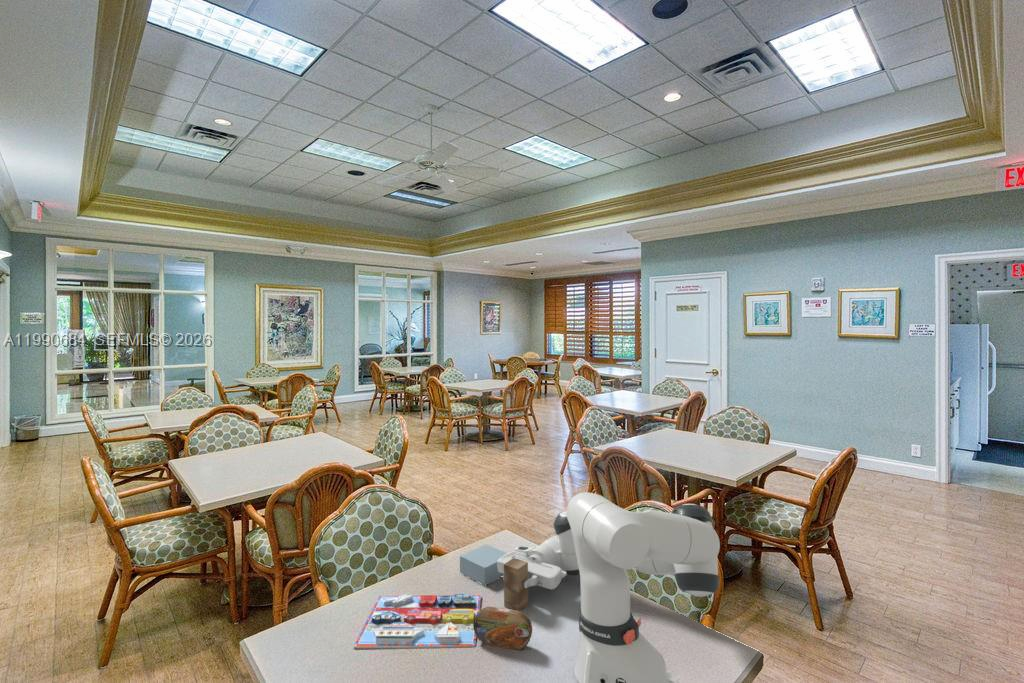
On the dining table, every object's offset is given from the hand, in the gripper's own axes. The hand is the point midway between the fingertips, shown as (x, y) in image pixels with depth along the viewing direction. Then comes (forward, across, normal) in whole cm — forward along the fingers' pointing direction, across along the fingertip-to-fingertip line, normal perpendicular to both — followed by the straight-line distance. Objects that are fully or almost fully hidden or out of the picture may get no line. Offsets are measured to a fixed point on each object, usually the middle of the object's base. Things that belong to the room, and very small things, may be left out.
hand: (514, 581), depth 135 cm
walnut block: (-1, 0, -7) cm, 7 cm away
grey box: (-11, +19, -7) cm, 23 cm away
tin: (+15, -7, -7) cm, 18 cm away
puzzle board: (+20, +17, -8) cm, 27 cm away
